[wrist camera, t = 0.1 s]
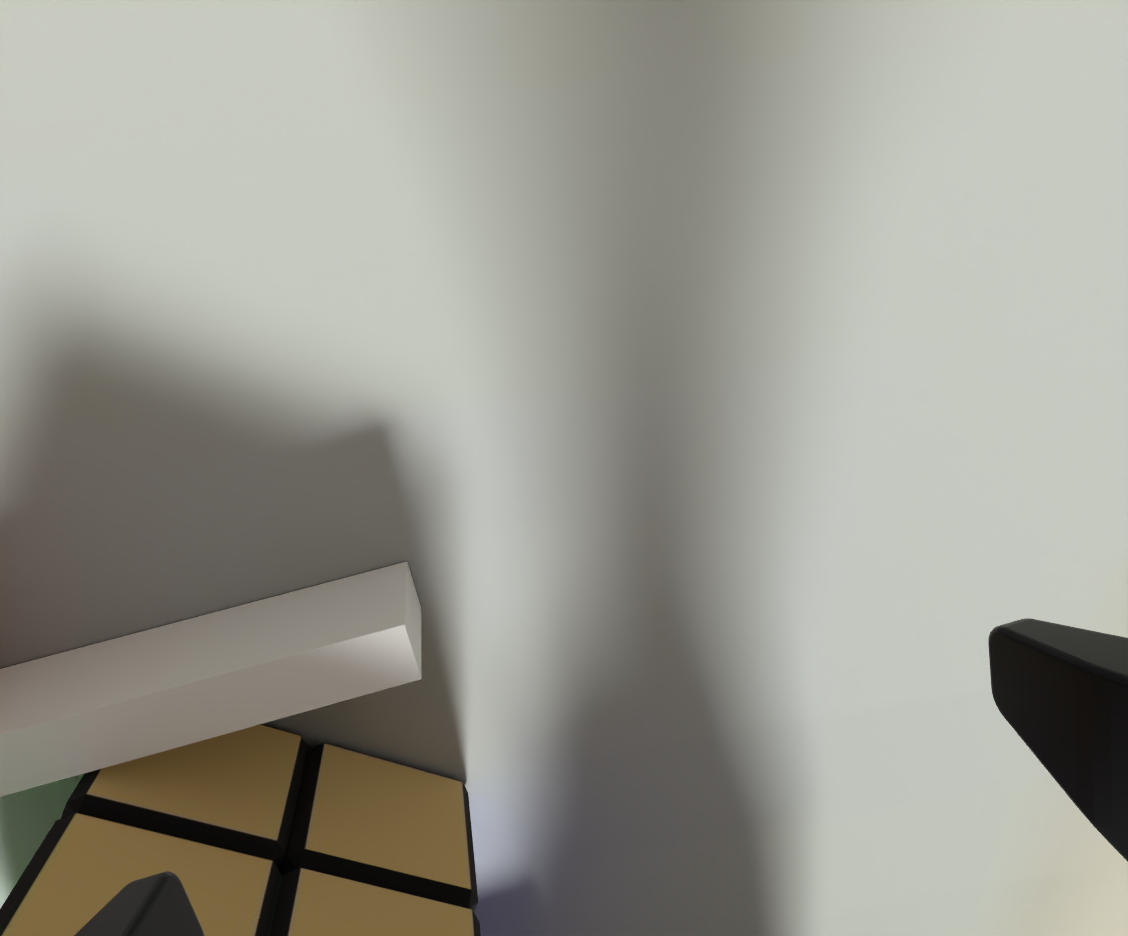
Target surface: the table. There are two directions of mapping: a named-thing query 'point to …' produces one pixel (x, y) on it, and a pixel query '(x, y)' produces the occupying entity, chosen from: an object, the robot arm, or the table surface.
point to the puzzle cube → (261, 843)
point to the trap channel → (207, 676)
